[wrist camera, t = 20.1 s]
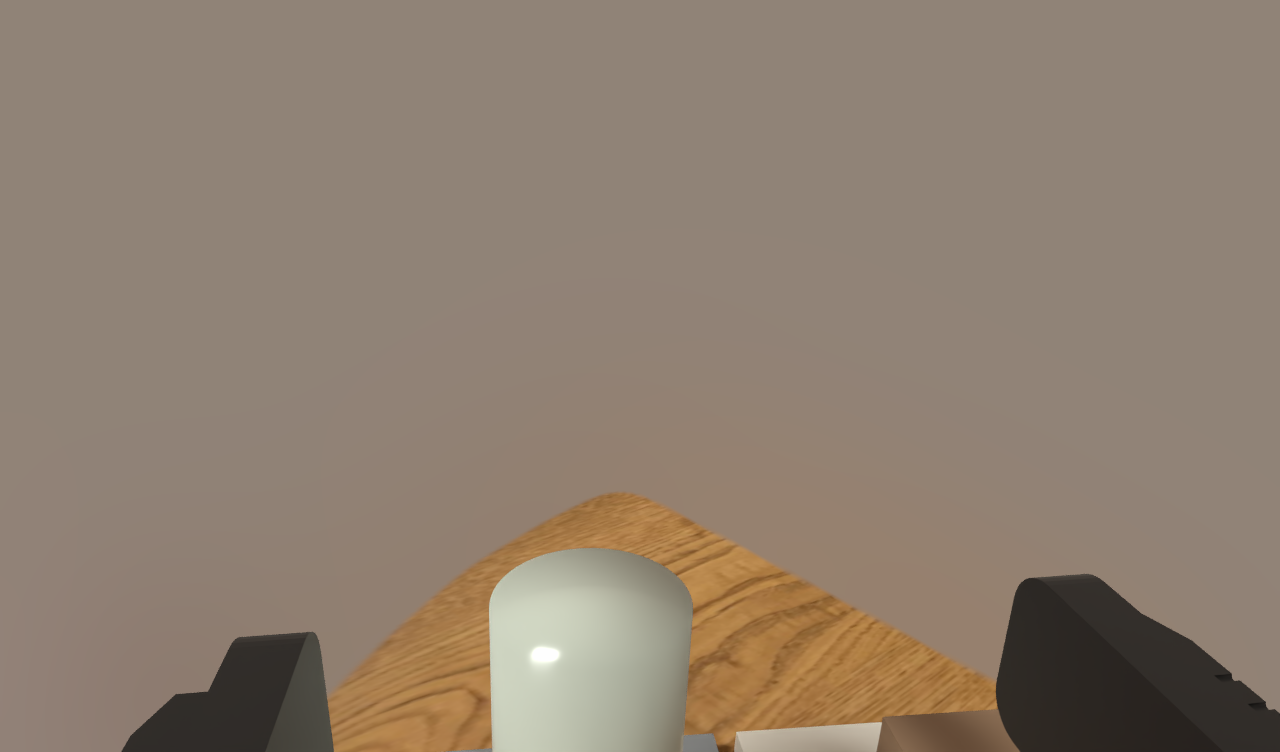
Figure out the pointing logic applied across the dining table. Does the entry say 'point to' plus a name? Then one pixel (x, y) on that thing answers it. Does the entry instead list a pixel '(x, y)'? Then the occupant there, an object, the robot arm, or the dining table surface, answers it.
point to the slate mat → (695, 747)
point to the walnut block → (945, 733)
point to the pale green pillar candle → (589, 654)
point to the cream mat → (811, 739)
